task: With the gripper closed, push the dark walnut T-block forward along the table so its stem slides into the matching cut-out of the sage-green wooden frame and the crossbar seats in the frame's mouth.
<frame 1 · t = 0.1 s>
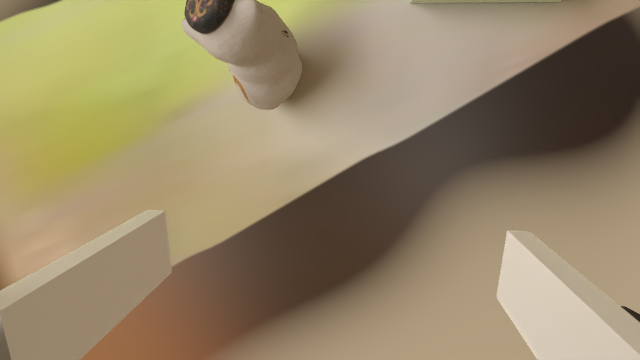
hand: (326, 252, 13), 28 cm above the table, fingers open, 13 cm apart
figurine: (270, 62, 39), on the table
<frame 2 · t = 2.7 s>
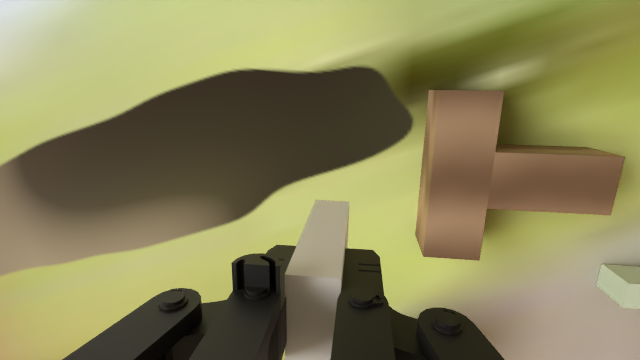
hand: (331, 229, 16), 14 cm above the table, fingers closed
t block: (499, 169, 27), on the table
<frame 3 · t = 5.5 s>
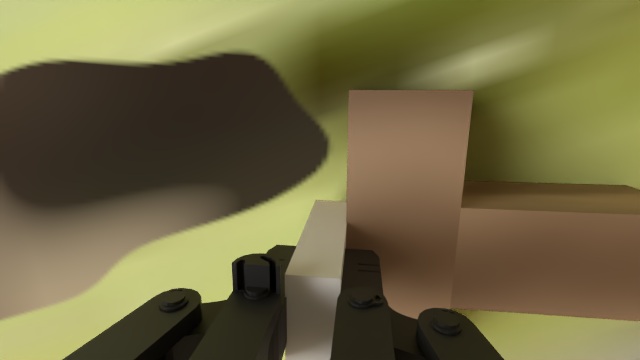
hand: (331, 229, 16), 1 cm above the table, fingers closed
t block: (477, 222, 16), on the table, touching gripper
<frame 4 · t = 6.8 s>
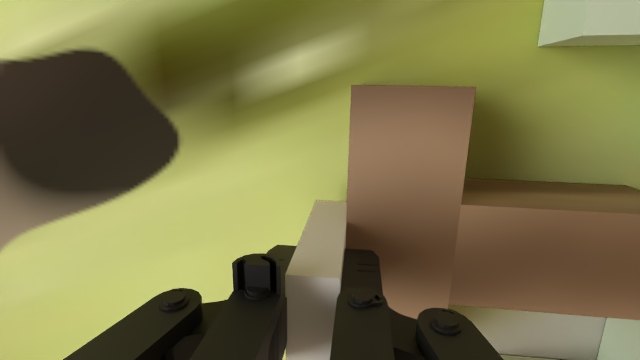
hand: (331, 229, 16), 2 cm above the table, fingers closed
t block: (476, 220, 16), on the table, touching gripper
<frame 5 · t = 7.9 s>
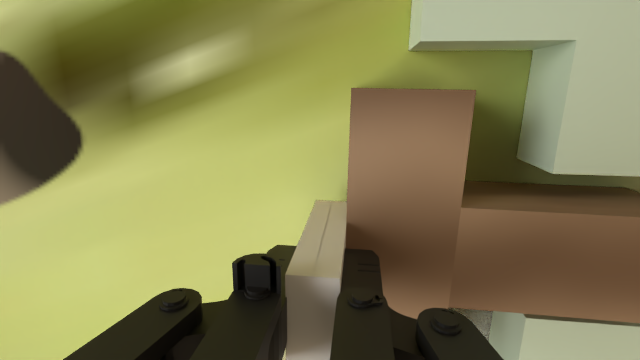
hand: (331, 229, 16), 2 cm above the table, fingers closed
slot frame: (552, 223, 16), on the table
t block: (476, 222, 16), on the table, touching gripper
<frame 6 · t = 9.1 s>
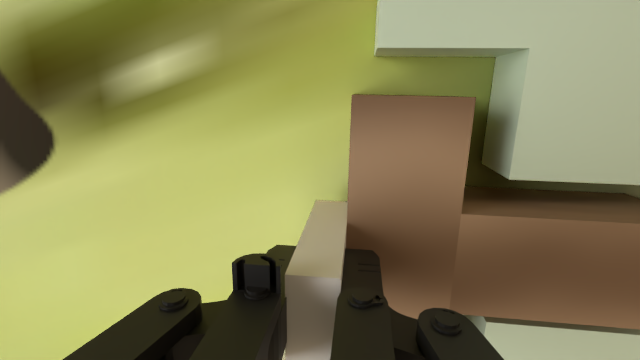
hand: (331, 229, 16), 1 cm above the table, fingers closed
slot frame: (517, 228, 16), on the table
t block: (476, 227, 16), on the table, touching gripper
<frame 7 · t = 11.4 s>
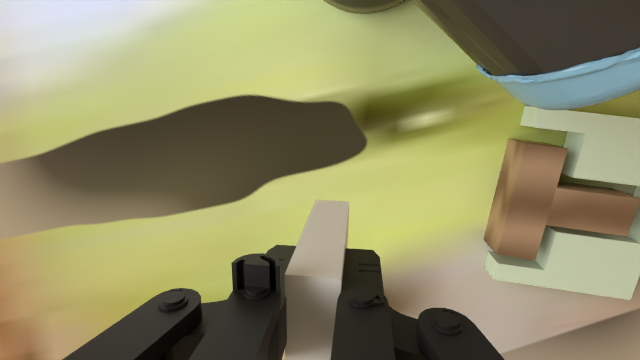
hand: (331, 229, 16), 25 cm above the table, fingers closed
slot frame: (567, 199, 39), on the table
t block: (550, 198, 39), on the table
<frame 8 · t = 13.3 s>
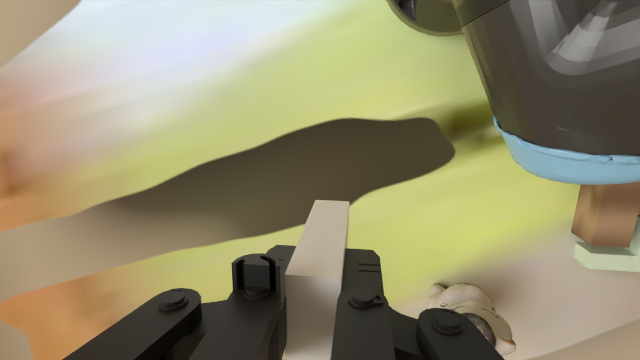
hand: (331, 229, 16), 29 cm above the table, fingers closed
figurine: (446, 288, 48), on the table
t block: (634, 188, 41), on the table
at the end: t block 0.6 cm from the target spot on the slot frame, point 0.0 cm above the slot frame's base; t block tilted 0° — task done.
